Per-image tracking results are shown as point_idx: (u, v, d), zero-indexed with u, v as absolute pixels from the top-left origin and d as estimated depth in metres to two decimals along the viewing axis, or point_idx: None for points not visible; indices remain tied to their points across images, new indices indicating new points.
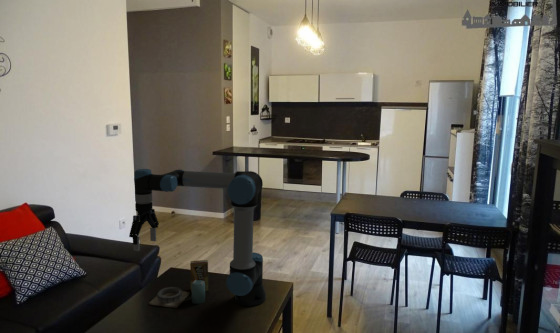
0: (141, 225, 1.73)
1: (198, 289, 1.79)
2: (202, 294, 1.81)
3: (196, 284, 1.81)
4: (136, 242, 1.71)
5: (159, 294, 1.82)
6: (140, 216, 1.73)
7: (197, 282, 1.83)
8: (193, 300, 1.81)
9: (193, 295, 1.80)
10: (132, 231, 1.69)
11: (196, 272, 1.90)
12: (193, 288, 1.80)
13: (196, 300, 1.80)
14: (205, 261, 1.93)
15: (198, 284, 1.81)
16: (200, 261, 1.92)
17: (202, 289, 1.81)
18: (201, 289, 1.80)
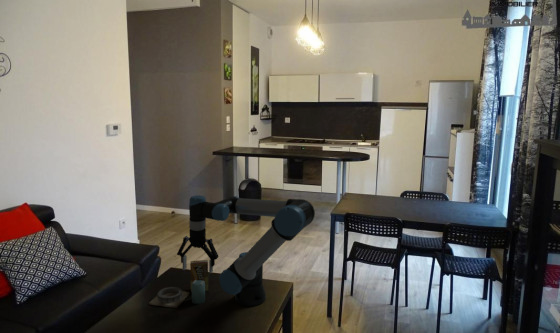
0: (188, 248, 1.79)
1: (198, 289, 1.79)
2: (202, 294, 1.81)
3: (196, 284, 1.81)
4: (182, 261, 1.82)
5: (159, 294, 1.82)
6: (189, 239, 1.79)
7: (197, 282, 1.83)
8: (193, 300, 1.81)
9: (193, 295, 1.80)
10: None
11: (196, 272, 1.91)
12: (193, 288, 1.80)
13: (196, 300, 1.80)
14: (205, 261, 1.93)
15: (198, 284, 1.81)
16: (200, 261, 1.92)
17: (202, 289, 1.81)
18: (201, 289, 1.80)
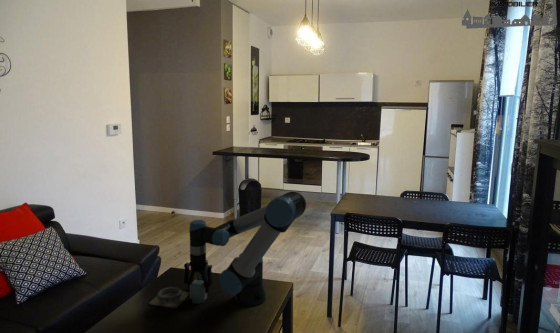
0: (191, 274, 1.81)
1: (198, 289, 1.79)
2: (202, 294, 1.81)
3: (196, 284, 1.81)
4: (189, 289, 1.83)
5: (159, 294, 1.82)
6: (189, 264, 1.81)
7: (197, 282, 1.83)
8: (193, 300, 1.81)
9: (193, 295, 1.80)
10: None
11: (196, 272, 1.91)
12: (193, 288, 1.80)
13: (196, 300, 1.80)
14: None
15: (198, 284, 1.81)
16: None
17: (202, 289, 1.81)
18: (201, 289, 1.80)
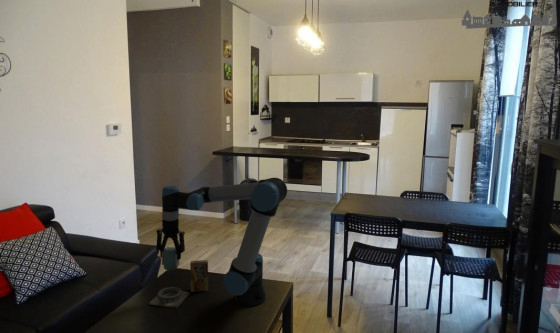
0: (164, 240, 1.79)
1: (170, 255, 1.78)
2: (173, 260, 1.79)
3: (168, 250, 1.79)
4: (161, 255, 1.81)
5: (159, 294, 1.82)
6: (162, 230, 1.79)
7: (169, 249, 1.82)
8: (165, 266, 1.80)
9: (165, 261, 1.79)
10: None
11: (196, 272, 1.91)
12: (165, 254, 1.78)
13: (168, 267, 1.79)
14: (205, 261, 1.93)
15: (170, 250, 1.79)
16: (200, 261, 1.92)
17: (174, 255, 1.79)
18: (173, 256, 1.79)
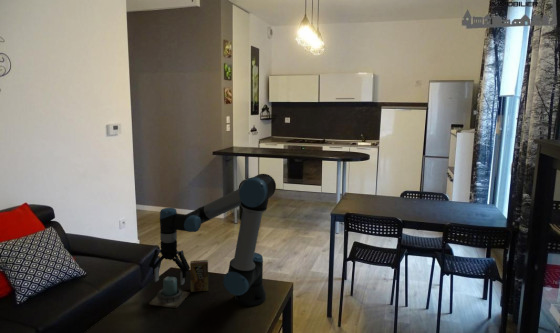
0: (159, 260, 1.81)
1: (169, 286, 1.80)
2: (173, 290, 1.81)
3: (167, 281, 1.82)
4: (154, 272, 1.83)
5: (159, 294, 1.82)
6: (160, 251, 1.81)
7: (169, 279, 1.84)
8: None
9: (164, 291, 1.81)
10: None
11: (196, 272, 1.91)
12: (164, 284, 1.81)
13: None
14: (205, 261, 1.93)
15: (169, 281, 1.82)
16: (200, 261, 1.92)
17: (173, 285, 1.81)
18: (172, 286, 1.81)
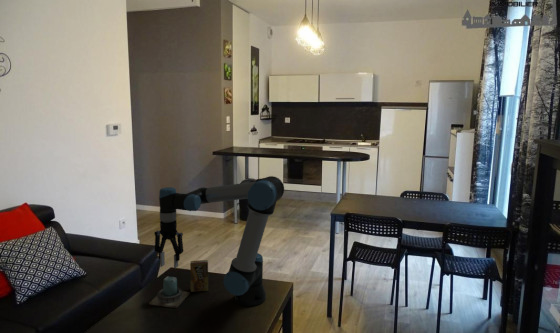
0: (162, 242, 1.79)
1: (169, 286, 1.80)
2: (173, 290, 1.81)
3: (168, 280, 1.82)
4: (159, 257, 1.81)
5: (159, 294, 1.82)
6: (160, 232, 1.79)
7: (169, 279, 1.84)
8: None
9: (164, 291, 1.81)
10: None
11: (196, 272, 1.91)
12: (164, 284, 1.81)
13: None
14: (205, 261, 1.93)
15: (170, 280, 1.82)
16: (200, 261, 1.92)
17: (173, 285, 1.81)
18: (172, 286, 1.81)
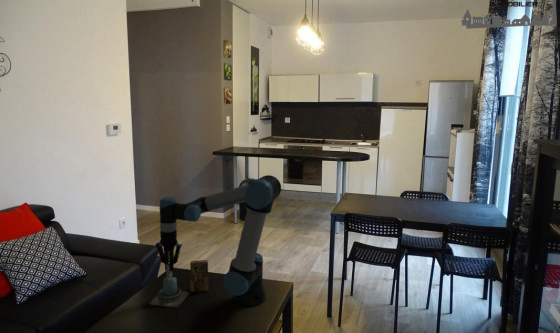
0: (165, 252, 1.80)
1: (169, 286, 1.80)
2: (173, 290, 1.81)
3: (168, 281, 1.81)
4: (166, 268, 1.82)
5: (159, 294, 1.82)
6: (160, 242, 1.80)
7: (169, 279, 1.84)
8: None
9: (164, 291, 1.81)
10: None
11: (196, 272, 1.91)
12: (164, 285, 1.80)
13: None
14: (205, 261, 1.93)
15: (170, 281, 1.81)
16: (200, 261, 1.92)
17: (173, 286, 1.81)
18: (172, 286, 1.81)
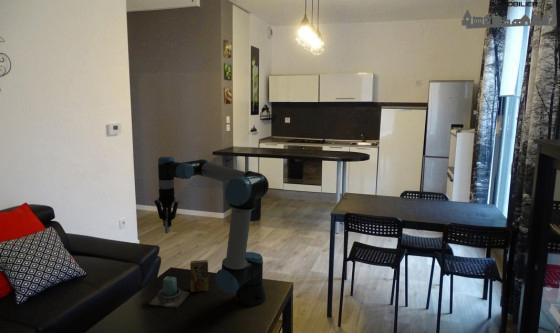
0: (163, 209, 1.90)
1: (168, 286, 1.80)
2: (173, 290, 1.81)
3: (167, 280, 1.82)
4: (164, 224, 1.92)
5: (159, 294, 1.82)
6: (159, 199, 1.90)
7: (169, 278, 1.84)
8: None
9: (164, 291, 1.81)
10: None
11: (196, 272, 1.91)
12: (164, 284, 1.81)
13: None
14: (205, 261, 1.93)
15: (169, 280, 1.82)
16: (200, 261, 1.92)
17: (173, 285, 1.81)
18: (172, 286, 1.81)
